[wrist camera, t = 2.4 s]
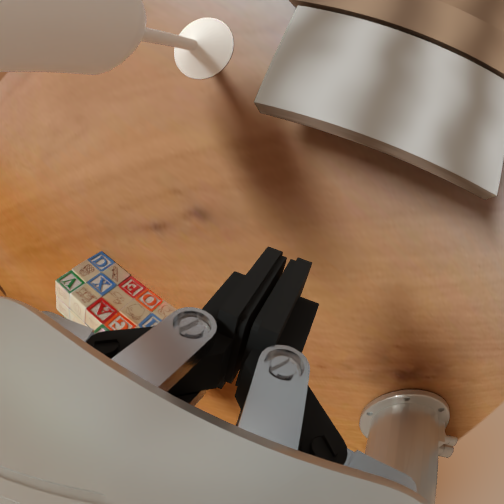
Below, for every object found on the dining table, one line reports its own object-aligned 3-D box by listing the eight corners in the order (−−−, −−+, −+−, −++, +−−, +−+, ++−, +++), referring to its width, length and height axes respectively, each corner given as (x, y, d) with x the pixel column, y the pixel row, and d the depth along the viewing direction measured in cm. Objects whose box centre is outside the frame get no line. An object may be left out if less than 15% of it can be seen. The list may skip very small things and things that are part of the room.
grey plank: (500, 92, 17) (509, 82, 15) (484, 199, 18) (496, 195, 16) (300, 19, 21) (297, 5, 19) (260, 112, 22) (253, 101, 20)
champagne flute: (162, 52, 27) (-71, 58, 7) (204, 5, 23) (-34, -48, 3) (200, 92, 28) (-60, 124, 8) (247, 44, 24) (-23, -14, 4)
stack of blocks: (97, 278, 46) (40, 319, 36) (102, 249, 42) (37, 289, 32) (205, 363, 44) (159, 424, 33) (221, 340, 40) (170, 407, 30)
